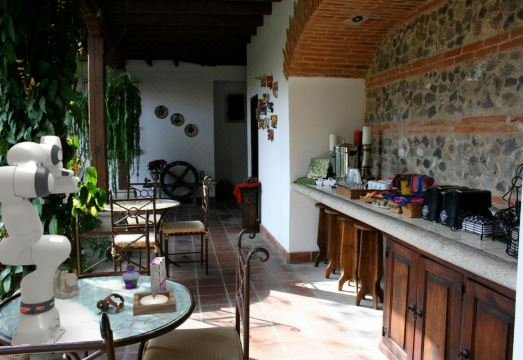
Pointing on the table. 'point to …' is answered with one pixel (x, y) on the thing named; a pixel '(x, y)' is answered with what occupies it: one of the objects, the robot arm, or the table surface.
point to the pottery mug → (111, 302)
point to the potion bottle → (130, 277)
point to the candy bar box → (158, 273)
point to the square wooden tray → (154, 308)
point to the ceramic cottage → (65, 285)
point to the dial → (154, 298)
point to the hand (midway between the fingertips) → (53, 203)
